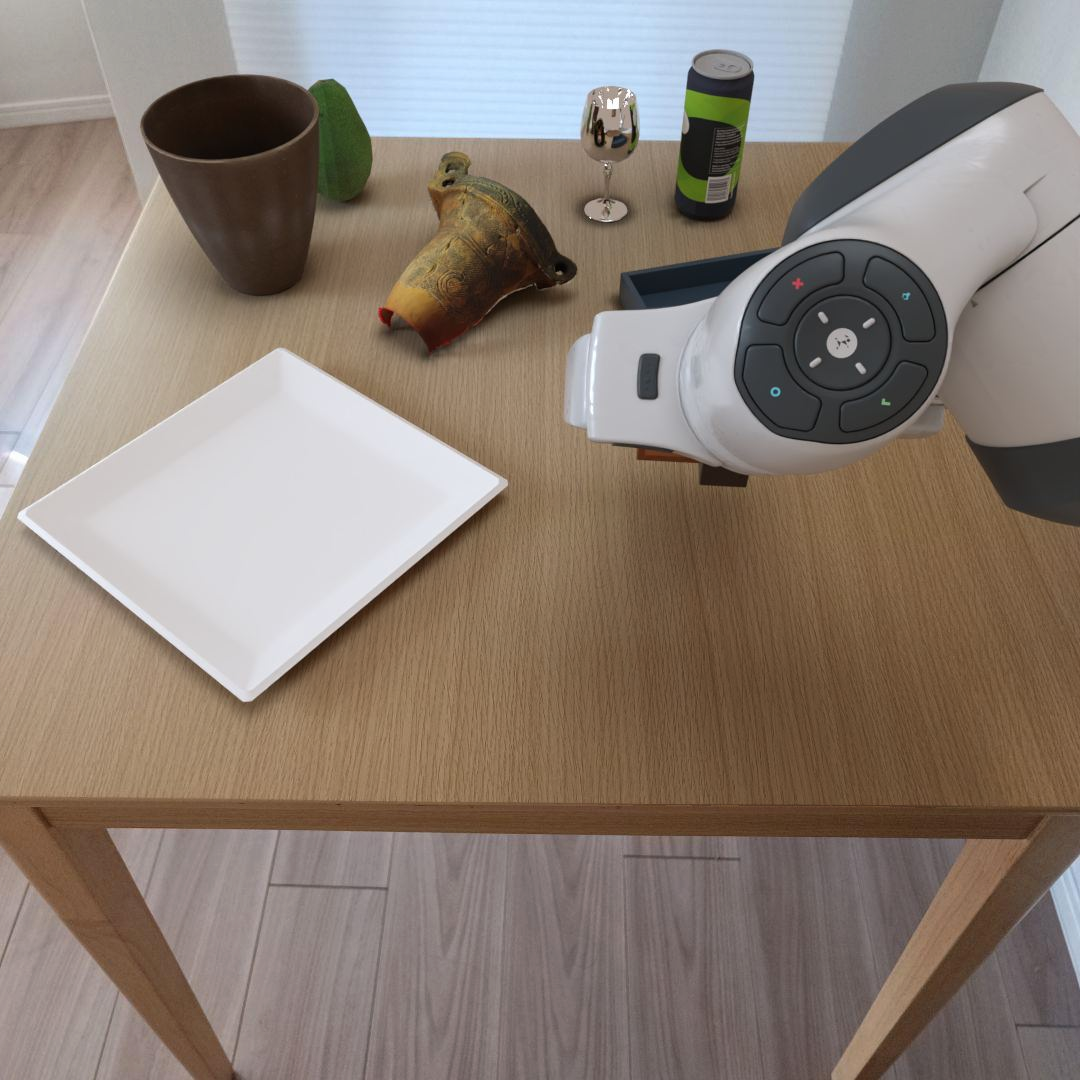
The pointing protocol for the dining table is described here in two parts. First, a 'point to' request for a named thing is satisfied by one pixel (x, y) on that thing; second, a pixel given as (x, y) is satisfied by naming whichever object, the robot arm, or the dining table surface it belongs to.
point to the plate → (262, 516)
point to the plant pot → (241, 173)
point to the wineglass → (609, 141)
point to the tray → (684, 280)
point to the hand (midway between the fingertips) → (732, 405)
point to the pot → (473, 256)
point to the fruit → (340, 143)
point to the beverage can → (713, 133)
